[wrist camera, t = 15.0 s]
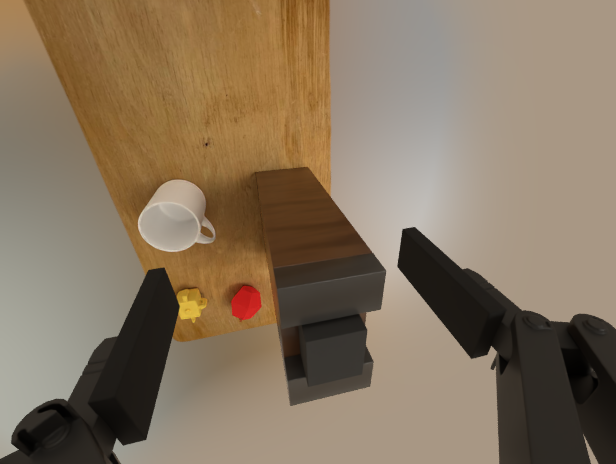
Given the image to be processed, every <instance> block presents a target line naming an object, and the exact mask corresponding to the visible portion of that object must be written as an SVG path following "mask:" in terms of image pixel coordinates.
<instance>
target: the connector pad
mask: <svg viewBox="0 0 616 464" xmlns="http://www.w3.org/2000/svg"><path fill="white" fill-rule="evenodd" d="M298 330H299V344H300V353H301V358H302V362H303V367H304V371H305V375H306V380H307V384H308V387H311V386H315V385H319V384H324V383H328V382H332V381H336V380H341V379H345V378H349V377H353V376H358V375H362V373H363V364H364V356H365V347H366V337H367V329H366V326H365V324H364V322H363V320H362V318H361V316H360V314H355V315H350V316H345V317H340V318H335V319H330V320H325V321H320V322H315V323H310V324H304V325H299V326H298Z"/></svg>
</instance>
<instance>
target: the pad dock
mask: <svg viewBox="0 0 616 464" xmlns="http://www.w3.org/2000/svg"><path fill="white" fill-rule="evenodd" d="M256 180H257V188H258V196H259V203H260V211H261V219H262V227H263V234H264V242H265V250H266V256H267V263H268V269H269V275H270V282H271V288H272V294H273V300H274V307H275V313H276V319H277V326H278V332H279V338H280V344H281V351H282V357H283V363H284V370H285V376H286V382H287V389H288V394H289V401H290V406H293V405H297V404H300V403H304V402H309V401H313V400H317V399H321V398H325V397H329V396H333V395H337V394H341V393H345V392H350V391H354V390H358V389H362V388H366V387H370V384H371V376H372V369H373V360H372V357H371V355H370V353H369V351H368V349H367V347H365V356H364V364H363V373H362V375H358V376H353V377H349V378H345V379H341V380H336V381H332V382H328V383H324V384H319V385H315V386H311V387H308V384H307V380H306V375H305V371H304V367H303V362H302V358H301V353H300V344H299V330H298V326H299V325H304V324H310V323H315V322H320V321H325V320H330V319H335V318H340V317H345V316H350V315H355V314H360V316H361V318H362V320H363V322H364V324H365V321H366V312H371V311H376V310H380V309H381V305H382V297H383V290H384V283H385V276H386V270H385V268H384V267H383V266H382V265H381V263H380V262H379V260H378V259H377V258H376V257H375V255H374V254H373V253H372V251H371V250H370V249H369V247H368V246H367V245H366V243H365V242H364V241H363V240H362V238H361V237H360V235H359V234H358V233H357V231H356V230H355V229H354V227H353V226H352V225H351V224H350V222H349V221H348V220H347V218H346V217H345V216H344V214H343V213H342V212H341V210H340V209H339V208H338V206H337V205H336V204H335V202H334V201H333V200H332V198H331V197H330V196H329V194H328V193H327V192H326V190H325V189H324V188H323V186H322V185H321V184H320V182H319V181H318V180H317V178H316V177H315V176H314V174H313V173H312V172H311V170H310V169H309V168H308V167H303V168H293V169H282V170H272V171H262V172H256Z"/></svg>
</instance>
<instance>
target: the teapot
mask: <svg viewBox="0 0 616 464" xmlns="http://www.w3.org/2000/svg"><path fill="white" fill-rule="evenodd" d="M177 300H178V303H179V305H180V309H179V315H180V317H181V319H188V318H191V319H192V322H195V319H196V317H198V316H200V315H201V312H202V308H206V305H207V299H206V298H201V294H200V292H199V289H198V288H195V289H189V290H188V289H185V290H183V291H179V292H178V294H177Z"/></svg>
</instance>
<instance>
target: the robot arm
mask: <svg viewBox="0 0 616 464" xmlns="http://www.w3.org/2000/svg"><path fill="white" fill-rule="evenodd" d="M398 268H399V269H400V271H401V272H402V273H403V274H404V276H405V277H406V278H407V279H408V281H409V282H410V283H411V284H412V285H413V287H414V288H415V289H416V290H417V292H418V293H419V294H420V295H421V297H422V298H423V299H424V300H425V302H426V303H427V304H428V305H429V307H430V308H431V309H432V310H433V312H434V313H435V314H436V315H437V317H438V318H439V319H440V320H441V321H442V323H443V324H444V325H445V326H446V328H447V329H448V330H449V331H450V332H451V334H452V335H453V336H454V338H455V339H456V340H457V341H458V342H459V344H460V345H461V346H462V348H463V349H464V350H465V351H466V353H467V354H468V355H469V356H470V358H471V359H472V358H477V357H481V356H484V355H487V354H488V352H489V350H490V347H491V346H492V347H493V348H494V349H495V350H496V351H497V354H496V357H495V359H494V361H493V363H492V365H491V369H492V370H494V368H495V366H496V383H497V410H498V436H499V464H591V463H590V459H589V455H588V451H587V448H586V444H585V440H584V436H585V438H586V440H587V442H588V444H589V446H590V448H591V449H592V451H593V454H594V455H595V457H596V459H597V461H598V463H599V464H616V329H615V328H614V327H613V326H612V325H610V324H609V323H607V322H606V321H604V320H602V319H600V318H598V317H595V316H592V315H588V314H577V315H575V316H573V318H572V320H571V321H570V323H568V322H554V321H549V320H548V319H547V318H545V317H544V316H542V315H540V314H538V313H535V312H531V311H526V310H525V311H522V310H521V309H519V308H518V307H517V306H516V305H515V304H514V303H513V302H511V301H510V300H509V299H508V298H506V296H504V295H503V294H502V293H501V292H500V291H498V290H497V289H495V288H494V286H493V285H491V284H490V283H488V282H487V280H485V279H484V278H483V277H482V276H481V275H479V274H478V273H476V272H474V271H472V270H470V269H468V268H467V269H461V268H460V267H459V266H458V265H457V264H456V263H454V262H453V261H452V260H451V259H450V258H449V257H448V256H447V255H445V254H444V253H443V252H442V251H441V250H440V249H439V248H438V247H436V246H435V245H434V244H433V243H432V242H431V241H430V240H429V239H428V238H426V237H425V236H424V235H423V234H422V233H421V232H420V231H418V230H417V229H416V228H415V227H413V228H406V229H403V231H402V237H401V245H400V251H399V259H398ZM179 309H180V305H179V303H178V300H177V298H176V295H175V293H174V290H173V288H172V285H171V283H170V280H169V278H168V275H167V273H166V270H165V268H158V269H152V270H148V272H147V274H146V276H145V279H144V281H143V283H142V285H141V287H140V290H139V292H138V294H137V296H136V298H135V300H134V303H133V305H132V307H131V309H130V311H129V314H128V316H127V318H126V320H125V322H124V324H123V327H122V329H121V331H120V333H119V335H118V336H117V337H112V338H107V339H104V341H103V342H102V343H101V344H100V345H99V346H98V347H97V348H96V349H95V350H94V352H93V354H92V356H91V357H90V359H89V361H88V365H86V367H85V369H84V371H83V373H82V376H80V378H79V380H78V382H77V384H76V386H75V388H74V390H73V392H72V394H71V396H70V398H69V400H68V401H66V400H64V399H54V400H51V401H48V402H45V403H43V404H42V405H40V406H38V407H36V408H35V409H34V410H33V411H31V412H30V413H29V414H27V415H26V416H25V417H24V418H23V419H22V421H21V422H20V423H19V424H18V425H17V427H16V428H15V430H14V432H13V435H12V440H11V444H12V445H14V446H15V447H16V448H17V449H19V450H17V451H16V452H13V453H11V454H9V455H7V456H5V457H3V458H1V459H0V464H121V463H120V462H119V460H118V458H117V457H116V455H115V453H114V452H113V451H112V450H113V447H114V444H115V441H116V438H117V439H118V440H119V441H120V442H121V444H122V445H127V444H131V443H135V442H139V441H143V440H146V438H147V434H148V430H149V426H150V423H151V419H152V415H153V411H154V407H155V402H156V399H157V395H158V391H159V387H160V383H161V379H162V375H163V371H164V368H165V364H166V360H167V356H168V352H169V348H170V344H171V340H172V336H173V332H174V328H175V324H176V320H177V316H178V312H179ZM594 371H595V372H594ZM583 434H584V436H583Z"/></svg>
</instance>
